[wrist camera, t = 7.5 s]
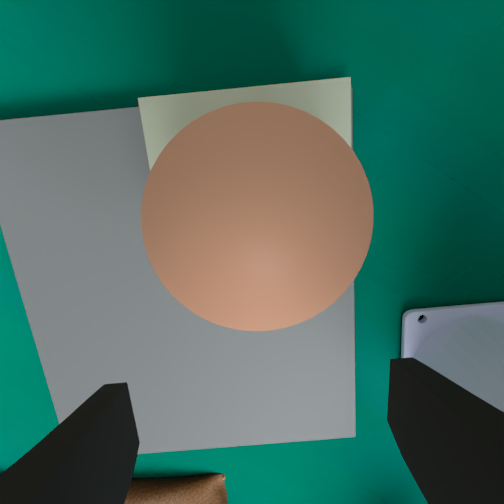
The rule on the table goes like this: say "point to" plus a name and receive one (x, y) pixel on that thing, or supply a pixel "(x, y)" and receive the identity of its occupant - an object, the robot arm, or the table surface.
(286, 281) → the terracotta cylinder
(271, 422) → the slate board
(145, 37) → the table surface
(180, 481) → the sunglasses case
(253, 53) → the table surface
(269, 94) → the sage top slab
